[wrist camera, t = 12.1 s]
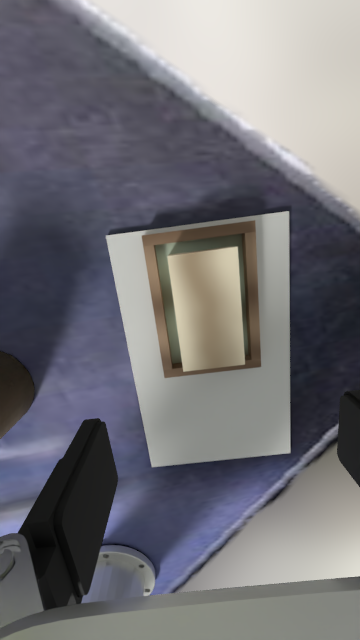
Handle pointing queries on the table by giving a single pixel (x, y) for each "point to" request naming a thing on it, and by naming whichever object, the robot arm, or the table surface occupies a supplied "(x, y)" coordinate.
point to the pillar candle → (13, 392)
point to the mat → (219, 387)
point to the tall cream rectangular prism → (208, 307)
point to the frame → (162, 295)
